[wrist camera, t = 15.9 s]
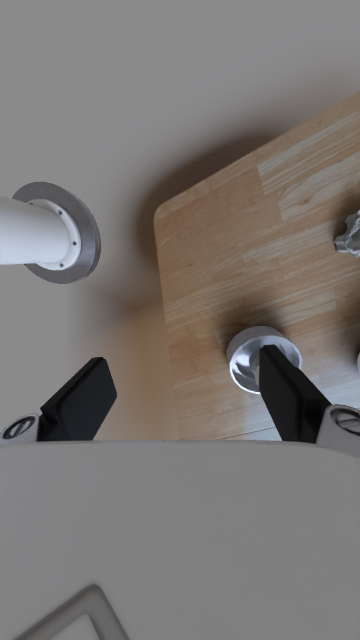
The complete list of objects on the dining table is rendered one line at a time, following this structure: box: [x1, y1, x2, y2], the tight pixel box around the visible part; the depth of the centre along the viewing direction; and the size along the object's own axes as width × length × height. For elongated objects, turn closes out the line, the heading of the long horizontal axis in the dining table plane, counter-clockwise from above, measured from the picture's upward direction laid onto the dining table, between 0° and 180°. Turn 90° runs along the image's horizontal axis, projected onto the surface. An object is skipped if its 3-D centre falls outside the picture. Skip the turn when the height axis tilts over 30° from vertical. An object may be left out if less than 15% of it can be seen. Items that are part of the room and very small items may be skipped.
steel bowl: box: [226, 326, 302, 394], centre depth 38 cm, size 14×14×6 cm
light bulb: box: [249, 351, 259, 387], centre depth 34 cm, size 6×6×12 cm
